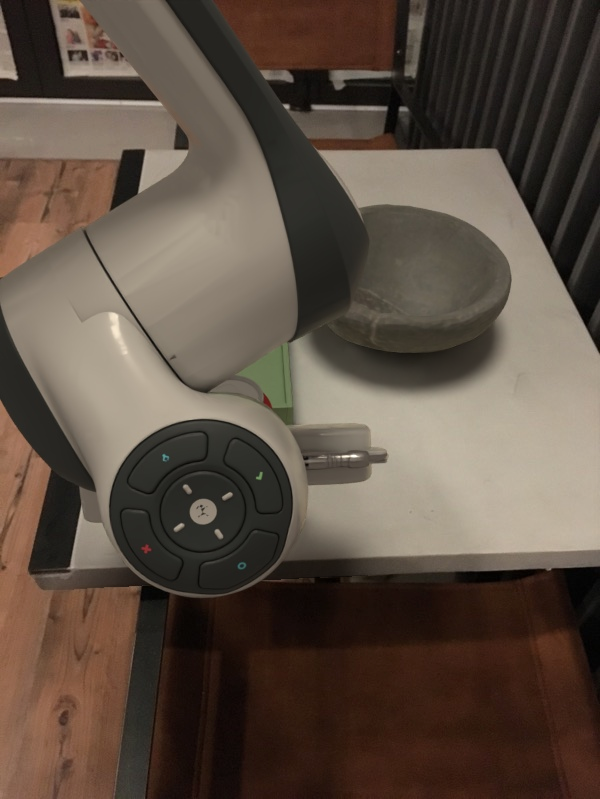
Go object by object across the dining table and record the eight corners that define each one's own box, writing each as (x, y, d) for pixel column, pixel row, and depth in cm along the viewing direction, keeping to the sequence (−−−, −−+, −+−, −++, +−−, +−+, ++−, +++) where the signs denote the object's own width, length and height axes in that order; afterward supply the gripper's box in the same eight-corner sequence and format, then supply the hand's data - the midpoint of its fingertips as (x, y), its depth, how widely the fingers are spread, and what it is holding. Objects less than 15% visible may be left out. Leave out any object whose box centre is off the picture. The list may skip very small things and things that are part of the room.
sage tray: (140, 431, 68) (136, 411, 66) (153, 332, 79) (150, 313, 77) (292, 426, 69) (292, 407, 67) (285, 329, 80) (285, 310, 78)
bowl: (494, 408, 72) (518, 335, 64) (284, 375, 74) (284, 301, 67) (495, 281, 87) (514, 211, 80) (321, 257, 90) (325, 187, 83)
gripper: (393, 407, 42) (360, 402, 56) (53, 417, 41) (105, 410, 54) (396, 510, 42) (362, 480, 56) (56, 523, 41) (108, 489, 55)
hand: (233, 445), depth 55 cm, fingers open, 8 cm apart
